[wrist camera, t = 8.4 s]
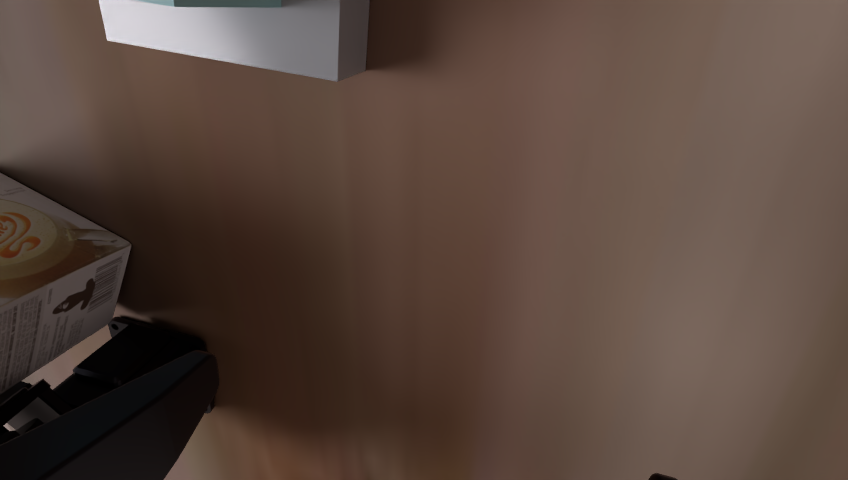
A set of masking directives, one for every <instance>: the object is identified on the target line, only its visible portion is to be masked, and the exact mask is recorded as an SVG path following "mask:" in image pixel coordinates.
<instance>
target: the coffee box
mask: <svg viewBox="0 0 848 480" xmlns="http://www.w3.org/2000/svg"><path fill="white" fill-rule="evenodd" d="M130 249H131V244H130V242H128V241H126V240H124V239H123V238H121V237H119V236H117V235H115V234H114V233H112V232H110V231H108V230H106V229H104V228H102V227H100V226H98V225H97V224H95V223H93V222H91V221H89V220H87V219H86V218H84V217H82V216H80V215H78V214H76V213H74V212H73V211H71V210H69V209H67V208H65V207H63V206H61V205H60V204H58V203H56V202H54V201H52V200H50V199H48V198H47V197H45V196H43V195H41V194H39V193H37V192H35V191H34V190H32V189H30V188H28V187H26V186H24V185H22V184H20V183H19V182H17V181H15V180H13V179H11V178H9V177H7V176H5V175H4V174H2V173H0V394H2V393H3V392H5V391H7V390H8V389H10V388H11V387H12V386H14V385H15V384H17V383H19V382H20V381H22V380H23V379H25V378H26V377H28V376H29V375H31V374H32V373H33V372H35V371H36V370H38V369H40V368H41V367H43V366H44V365H46V364H48V363H49V362H51V361H52V360H54V359H55V358H57V357H58V356H60V355H61V354H63V353H64V352H66V351H67V350H69V349H70V348H72V347H73V346H75V345H76V344H78V343H80V342H81V341H82V340H84V339H85V338H87V337H89V336H90V335H92V334H94V333H95V332H97V331H98V330H100V329H101V328H103V327H104V326H106V325H107V324H109V323H110V322H111V320H112V318H113V315H114V311H115V307H116V303H117V299H118V295H119V292H120V288H121V284H122V280H123V276H124V272H125V268H126V265H127V261H128V257H129V253H130Z"/></svg>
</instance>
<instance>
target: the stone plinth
mask: <svg viewBox="0 0 848 480" xmlns="http://www.w3.org/2000/svg"><path fill="white" fill-rule="evenodd" d="M99 3H100V8H101V13H102V17H103V22H104V27H105V32H106V37H107V40H108V41H114V42H119V43H125V44H130V45H136V46H142V47H147V48H153V49H158V50H164V51H170V52H175V53H181V54H186V55H192V56H198V57H203V58H209V59H214V60H220V61H226V62H231V63H237V64H242V65H248V66H254V67H259V68H265V69H270V70H276V71H282V72H287V73H293V74H298V75H304V76H310V77H315V78H321V79H326V80H332V81H340V80H343V79H345V78H348V77H351V76H353V75H356V74H359V73H361V72H364V71H366V55H367V38H368V22H369V5H370V0H281V8H256V7H171V6H165V5H159V4H153V3H147V2H141V1H135V0H99Z"/></svg>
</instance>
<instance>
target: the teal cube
mask: <svg viewBox="0 0 848 480" xmlns="http://www.w3.org/2000/svg"><path fill="white" fill-rule="evenodd" d="M135 1H141V2H147V3H153V4H159V5H165V6H171V7H256V8H281V0H135Z"/></svg>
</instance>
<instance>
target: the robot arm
mask: <svg viewBox="0 0 848 480" xmlns="http://www.w3.org/2000/svg"><path fill="white" fill-rule="evenodd" d="M108 326H109V330H110V333H111V337H112V339H110V340H109V341H108V342H106V343H105V344H104V345H103V346H101V347H100V348H99V349H98V350H96V351H95V352H94V353H92V354H91V355H90V356H89V357H87V358H86V359H85V360H84V361H82V362H81V363H80V364H79V365H77V366H76V367H75V368H74V369H73V374H72V375H71V376H70V377H68V378H67V379H66V380H65V381H63V382H62V383H61V384H60V385H58V386H57V387H56V388H55V389H53V390H52V389H51V388H50V386H51V385H50V384H48V383H47V382H46V381H45V380H44V379H42V380H40V381H39V382H37V383H36V384H34V385H31V384H30V383H25V382H22V381H20V382H19V383H17V384H15V385H14V386H12V387H11V388H10V389H8V390H7V391H5V392H3V393H2V394H0V480H163V479H164V478H165V477H166V475H167V474H168V472H169V471H170V470H171V468H172V467H173V465H174V464H175V462H176V461H177V459H178V458H179V456H180V454H181V453H182V451H183V449H184V448H185V446H186V444H187V443H188V441H189V439H190V437H191V436H192V434H193V432H194V430H195V429H196V427H197V425H198V423H199V422H200V420H201V418H202V417H203V415H204V413H210V412H211V411H212V409H213V408H214V406H215V405H214V399H213V397H214V396H215V394H216V392H217V390H218V387H219V373H218V366H217V359H216V357H215V355H214V354H212V353H208V352H206V347H205V344H204V342H203V341H202V340H201V339H199V338H196V337H192V336H188V335H185V334H181V333H177V332H173V331H170V330H166V329H162V328H158V327H154V326H151V325H147V324H143V323H139V322H135V321H132V320H128V319H124V318H120V317H114V318H113V319H112V320H111V322H110V323H109V324H108ZM6 423H8V424H9V425H11V426H12V427H13V428H14V429H16V431H9V430H7V429H6V428H5V427H4V426H3V425H5V424H6ZM649 480H677V479H676V478H673V477H670V476H666V475H662V474H659V473H655V474H652V475H651V476H650V478H649Z"/></svg>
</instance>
